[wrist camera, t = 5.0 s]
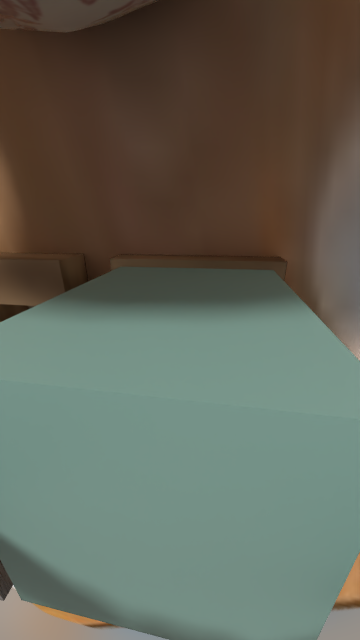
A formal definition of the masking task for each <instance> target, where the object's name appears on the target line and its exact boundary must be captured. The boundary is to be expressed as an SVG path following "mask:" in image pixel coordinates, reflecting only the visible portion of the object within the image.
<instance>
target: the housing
mask: <svg viewBox="0 0 360 640" xmlns="http://www.w3.org/2000/svg"><path fill="white" fill-rule="evenodd" d="M359 552H360V361H359V360H358V359H357V358H356V357H355V356H354V355H353V354H352V352H351V351H350V350H349V349H348V348H347V347H346V346H345V345H344V344H343V343H342V342H341V341H340V340H339V339H338V338H337V337H336V336H335V335H334V333H333V332H332V331H331V330H330V329H329V328H328V327H327V326H326V325H325V324H324V323H323V322H322V321H321V320H320V319H319V318H318V317H317V316H316V314H315V313H314V312H313V311H312V310H311V309H310V308H309V307H308V306H307V305H306V304H305V303H304V302H303V301H302V300H301V299H300V298H299V297H298V295H297V294H296V293H295V292H294V291H293V290H292V289H291V288H290V287H289V286H288V285H287V284H286V283H285V282H284V281H283V280H282V279H281V278H280V276H279V275H278V274H277V273H276V272H275V271H274V270H247V269H203V268H160V267H119V268H117V269H114V270H112V271H110V272H108V273H106V274H104V275H102V276H99V277H97V278H95V279H93V280H91V281H89V282H86V283H84V284H82V285H80V286H78V287H76V288H73V289H71V290H69V291H67V292H65V293H63V294H60V295H58V296H56V297H54V298H52V299H50V300H47V301H45V302H43V303H41V304H39V305H37V306H34V307H32V308H30V309H28V310H26V311H24V312H21V313H19V314H17V315H15V316H13V317H11V318H8V319H6V320H4V321H2V322H0V560H1V562H2V564H3V566H4V568H5V570H6V572H7V574H8V575H9V577H10V579H11V581H12V583H13V585H14V587H15V589H16V591H17V592H18V594H19V596H20V598H21V600H24V601H27V602H31V603H35V604H38V605H42V606H46V607H50V608H53V609H57V610H61V611H65V612H68V613H72V614H76V615H79V616H83V617H87V618H91V619H94V620H98V621H102V622H106V623H109V624H113V625H117V626H121V627H124V628H128V629H132V630H136V631H139V632H143V633H147V634H150V635H154V636H158V637H162V638H165V639H169V640H317V638H318V636H319V634H320V632H321V630H322V628H323V626H324V624H325V622H326V619H327V618H328V615H329V614H330V611H331V609H332V607H333V605H334V603H335V601H336V599H337V597H338V595H339V593H340V591H341V589H342V587H343V585H344V583H345V581H346V579H347V577H348V575H349V572H350V570H351V568H352V566H353V564H354V562H355V560H356V558H357V556H358V554H359Z"/></svg>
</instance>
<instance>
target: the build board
mask: <svg viewBox="0 0 360 640" xmlns="http://www.w3.org/2000/svg"><path fill="white" fill-rule="evenodd" d="M86 282H88V279H87V273H86V266H85V260H84V254H51V253H0V322H2V321H4V320H6V319H8V318H11V317H13V316H15V315H17V314H19V313H21V312H24V311H26V310H28V309H30V308H32V307H34V306H37V305H39V304H41V303H43V302H45V301H47V300H50V299H52V298H54V297H56V296H58V295H60V294H63V293H65V292H67V291H69V290H71V289H73V288H76V287H78V286H80V285H82V284H84V283H86Z"/></svg>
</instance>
